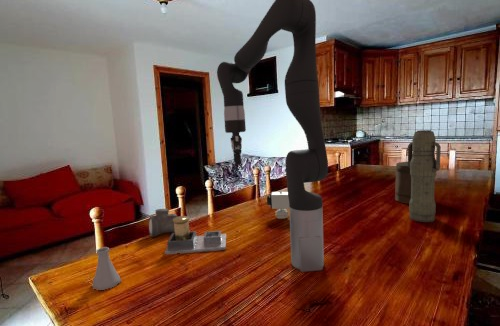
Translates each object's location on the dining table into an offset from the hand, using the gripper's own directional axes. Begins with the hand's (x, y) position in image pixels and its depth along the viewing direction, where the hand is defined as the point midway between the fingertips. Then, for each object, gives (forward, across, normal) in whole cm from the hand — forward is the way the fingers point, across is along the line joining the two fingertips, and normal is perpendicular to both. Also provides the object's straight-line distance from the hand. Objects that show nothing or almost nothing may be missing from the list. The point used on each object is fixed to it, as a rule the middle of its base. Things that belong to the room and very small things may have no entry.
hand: (237, 163), depth 108 cm
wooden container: (+27, +23, -85) cm, 92 cm away
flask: (+27, -29, +39) cm, 56 cm away
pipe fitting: (+27, +7, +30) cm, 41 cm away
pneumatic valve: (+27, +14, -18) cm, 36 cm away
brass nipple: (+26, -7, +21) cm, 34 cm away
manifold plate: (+27, -7, +16) cm, 32 cm away
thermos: (+27, -1, -72) cm, 77 cm away
